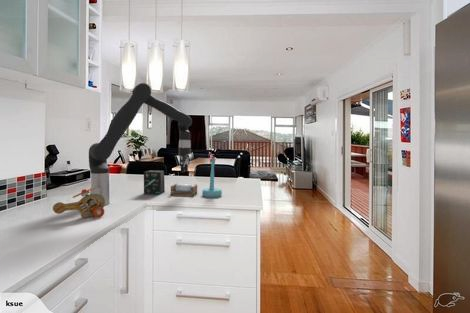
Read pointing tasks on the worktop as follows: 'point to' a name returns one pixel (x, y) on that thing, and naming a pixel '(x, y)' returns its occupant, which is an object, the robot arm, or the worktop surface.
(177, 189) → the paper roll
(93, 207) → the toy helicopter
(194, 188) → the roll cradle
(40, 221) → the worktop surface
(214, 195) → the blue towel holder stand
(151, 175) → the tampon box
